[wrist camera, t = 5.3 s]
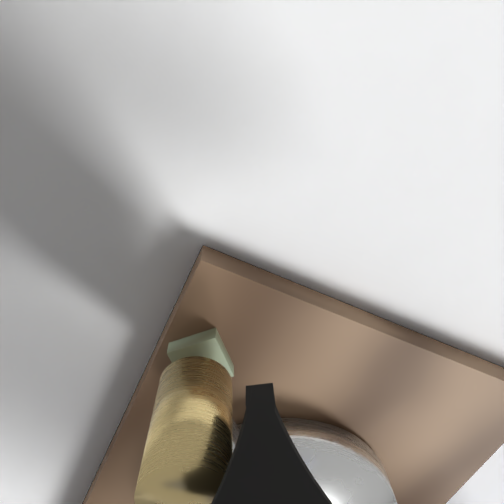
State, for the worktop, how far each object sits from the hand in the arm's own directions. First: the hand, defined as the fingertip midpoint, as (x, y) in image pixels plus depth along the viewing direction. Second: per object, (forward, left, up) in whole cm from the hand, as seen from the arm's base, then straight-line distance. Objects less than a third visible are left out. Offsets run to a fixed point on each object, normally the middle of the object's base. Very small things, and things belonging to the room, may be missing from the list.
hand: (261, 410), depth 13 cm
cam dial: (-3, +6, -3) cm, 7 cm away
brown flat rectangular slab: (-4, +7, -4) cm, 9 cm away
